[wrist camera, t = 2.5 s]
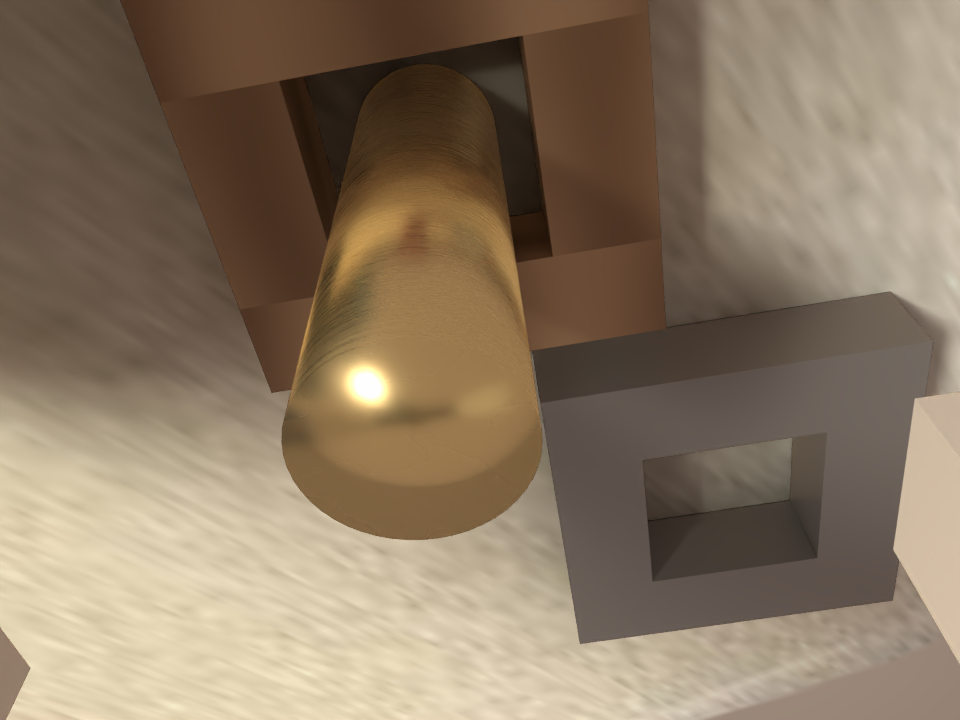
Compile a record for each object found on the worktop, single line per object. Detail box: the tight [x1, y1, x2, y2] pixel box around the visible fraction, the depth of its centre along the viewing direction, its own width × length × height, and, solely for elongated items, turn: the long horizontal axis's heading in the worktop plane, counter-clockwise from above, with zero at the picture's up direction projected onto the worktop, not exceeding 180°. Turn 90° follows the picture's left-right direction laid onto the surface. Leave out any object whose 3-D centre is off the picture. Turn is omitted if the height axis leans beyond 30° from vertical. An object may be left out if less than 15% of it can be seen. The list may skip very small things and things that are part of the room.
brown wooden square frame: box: [120, 0, 666, 393], centre depth 24 cm, size 12×12×3 cm
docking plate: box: [532, 292, 933, 644], centre depth 31 cm, size 12×12×3 cm
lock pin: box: [282, 64, 542, 540], centre depth 19 cm, size 4×4×14 cm
